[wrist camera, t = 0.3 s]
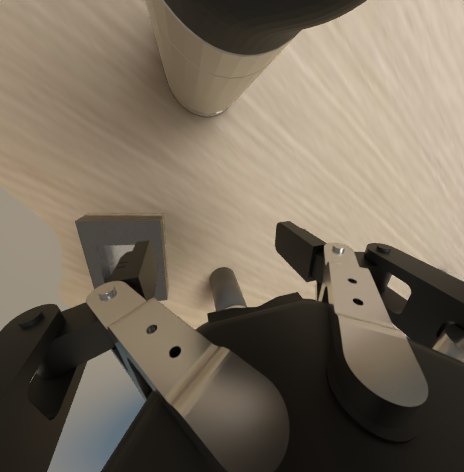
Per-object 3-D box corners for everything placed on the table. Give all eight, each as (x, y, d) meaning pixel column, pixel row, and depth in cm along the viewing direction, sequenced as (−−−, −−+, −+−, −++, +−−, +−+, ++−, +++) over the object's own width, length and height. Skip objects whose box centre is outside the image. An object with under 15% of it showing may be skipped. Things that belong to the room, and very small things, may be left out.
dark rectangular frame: (88, 213, 26) (75, 221, 23) (163, 213, 28) (160, 221, 25) (107, 291, 31) (99, 306, 28) (168, 286, 34) (167, 299, 31)
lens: (210, 267, 34) (220, 320, 24) (235, 266, 35) (257, 315, 25) (209, 289, 36) (218, 346, 25) (233, 286, 37) (252, 340, 27)
